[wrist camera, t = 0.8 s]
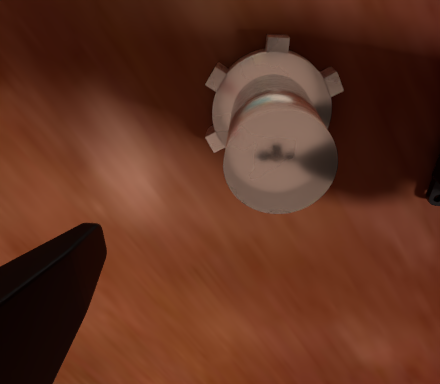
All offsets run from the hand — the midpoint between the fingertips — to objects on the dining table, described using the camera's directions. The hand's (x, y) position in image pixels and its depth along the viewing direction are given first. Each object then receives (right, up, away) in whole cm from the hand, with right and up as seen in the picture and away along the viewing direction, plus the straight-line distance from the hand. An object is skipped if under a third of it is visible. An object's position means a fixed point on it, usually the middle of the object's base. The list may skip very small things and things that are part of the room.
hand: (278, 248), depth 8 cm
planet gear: (+1, +6, +10) cm, 12 cm away
